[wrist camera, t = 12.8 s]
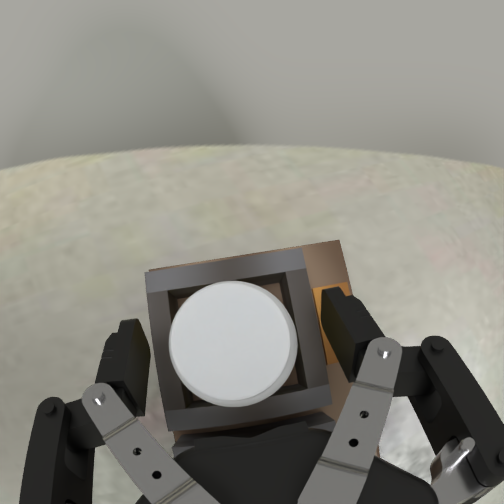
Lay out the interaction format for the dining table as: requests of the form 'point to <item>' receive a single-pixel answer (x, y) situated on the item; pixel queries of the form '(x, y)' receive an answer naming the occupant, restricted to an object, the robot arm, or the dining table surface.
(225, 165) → the dining table surface
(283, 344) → the supplement bottle
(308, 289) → the socket board
